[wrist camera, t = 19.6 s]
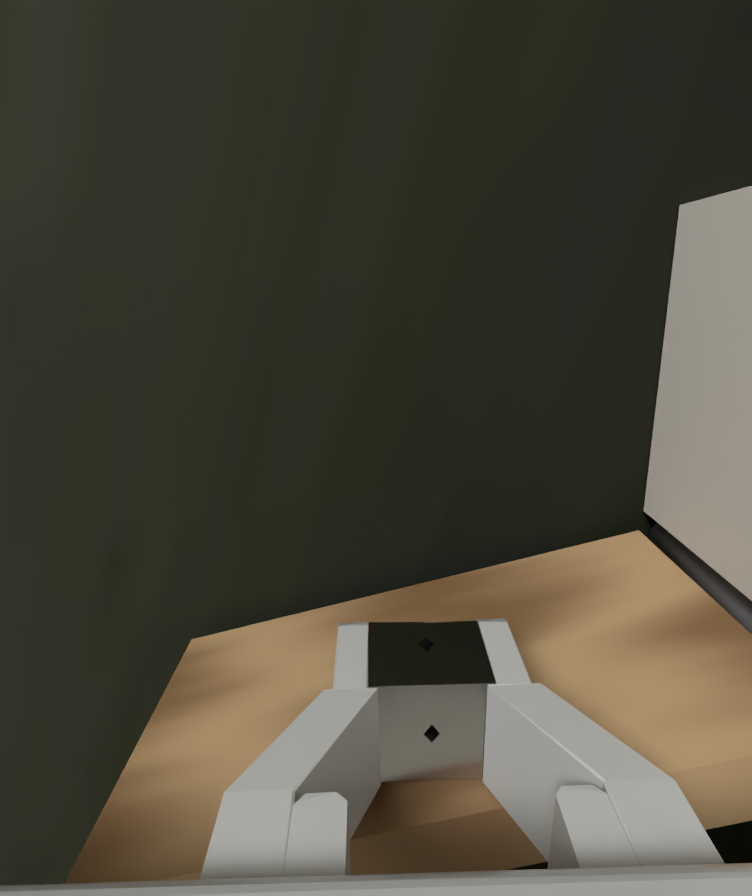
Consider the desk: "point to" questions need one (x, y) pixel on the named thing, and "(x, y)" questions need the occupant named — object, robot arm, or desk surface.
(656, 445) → the doorframe
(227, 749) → the door
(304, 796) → the robot arm
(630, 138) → the desk surface
